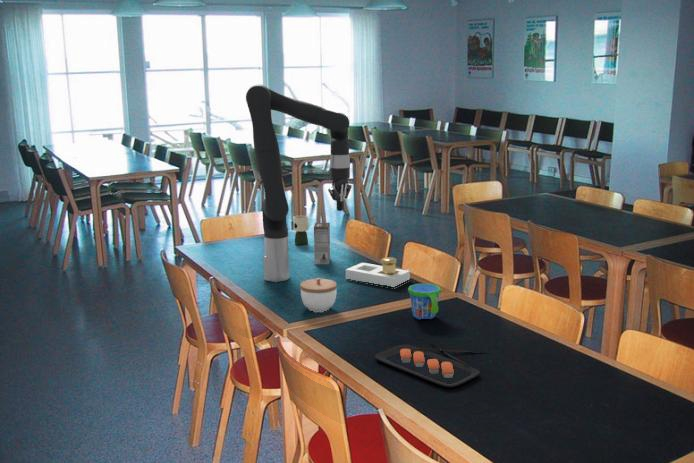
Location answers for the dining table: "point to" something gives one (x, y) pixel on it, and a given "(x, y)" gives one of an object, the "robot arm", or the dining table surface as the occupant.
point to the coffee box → (322, 243)
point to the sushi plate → (428, 363)
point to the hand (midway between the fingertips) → (340, 210)
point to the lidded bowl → (318, 294)
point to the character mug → (300, 229)
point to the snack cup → (424, 300)
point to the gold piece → (389, 265)
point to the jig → (376, 275)
